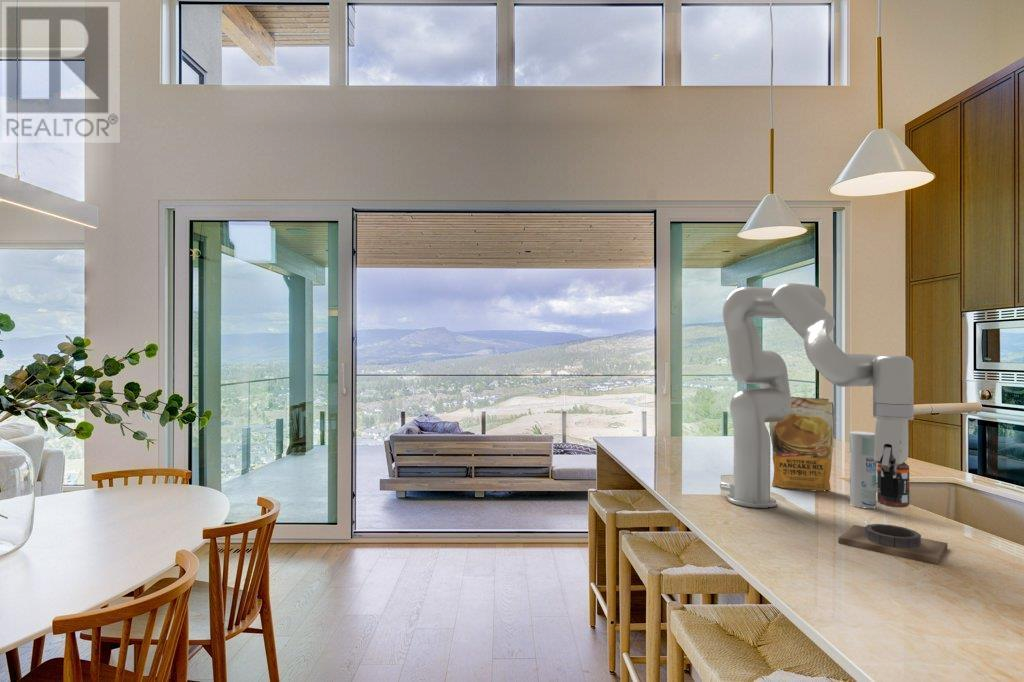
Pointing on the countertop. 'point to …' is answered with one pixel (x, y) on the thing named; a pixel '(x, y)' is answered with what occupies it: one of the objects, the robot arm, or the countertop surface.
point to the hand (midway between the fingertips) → (893, 492)
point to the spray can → (862, 469)
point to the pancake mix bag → (804, 445)
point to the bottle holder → (894, 542)
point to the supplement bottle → (903, 487)
